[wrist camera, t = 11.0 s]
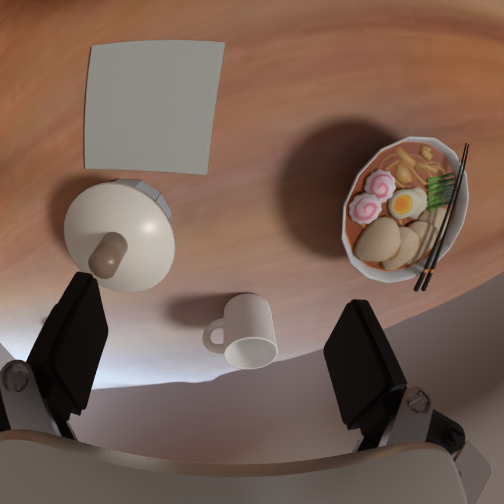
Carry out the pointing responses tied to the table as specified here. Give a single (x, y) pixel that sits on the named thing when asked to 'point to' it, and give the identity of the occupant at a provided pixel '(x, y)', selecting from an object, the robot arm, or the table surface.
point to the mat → (152, 105)
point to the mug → (245, 333)
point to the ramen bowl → (405, 210)
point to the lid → (120, 237)
